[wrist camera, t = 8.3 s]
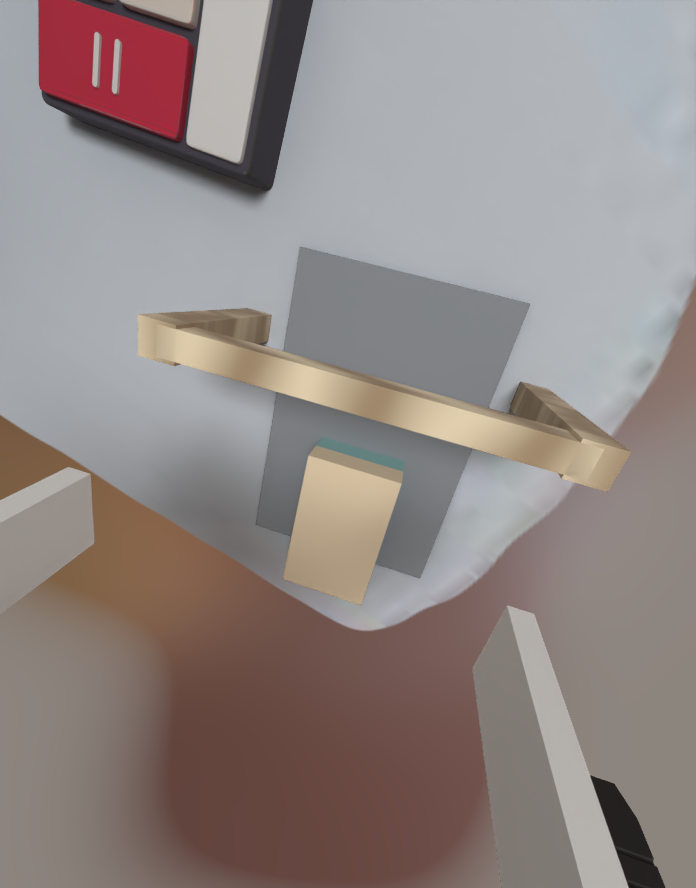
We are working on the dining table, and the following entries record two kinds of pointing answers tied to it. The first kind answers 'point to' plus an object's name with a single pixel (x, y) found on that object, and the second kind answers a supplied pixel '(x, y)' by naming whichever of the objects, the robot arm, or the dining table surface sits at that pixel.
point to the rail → (387, 395)
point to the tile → (342, 518)
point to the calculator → (179, 75)
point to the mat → (394, 359)
